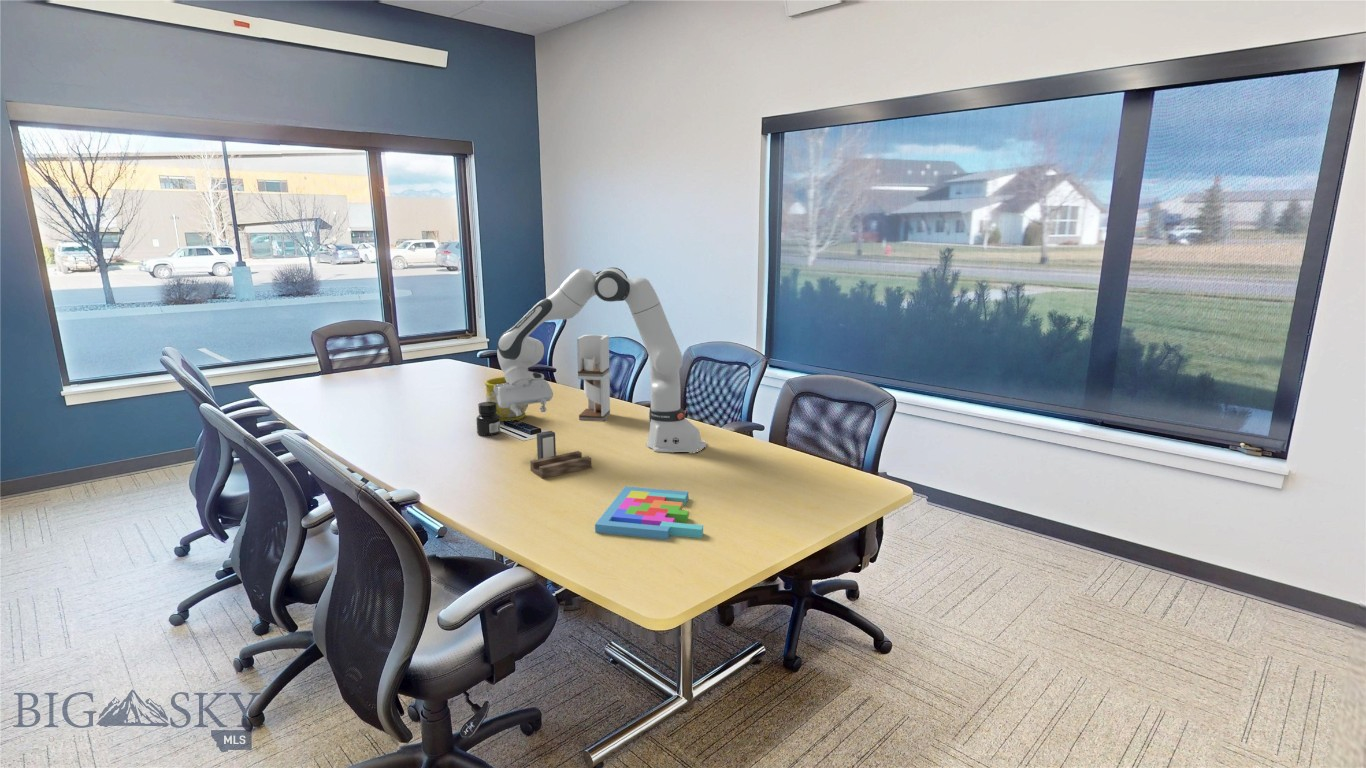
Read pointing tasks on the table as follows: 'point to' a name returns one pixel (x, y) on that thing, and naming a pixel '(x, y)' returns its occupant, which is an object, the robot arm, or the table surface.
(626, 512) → the tetris game
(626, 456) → the table surface
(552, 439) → the dark grey rectangular block
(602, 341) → the rack with curved panels
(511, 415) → the flowerpot
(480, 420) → the ink bottle
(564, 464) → the display ledge
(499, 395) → the robot arm
